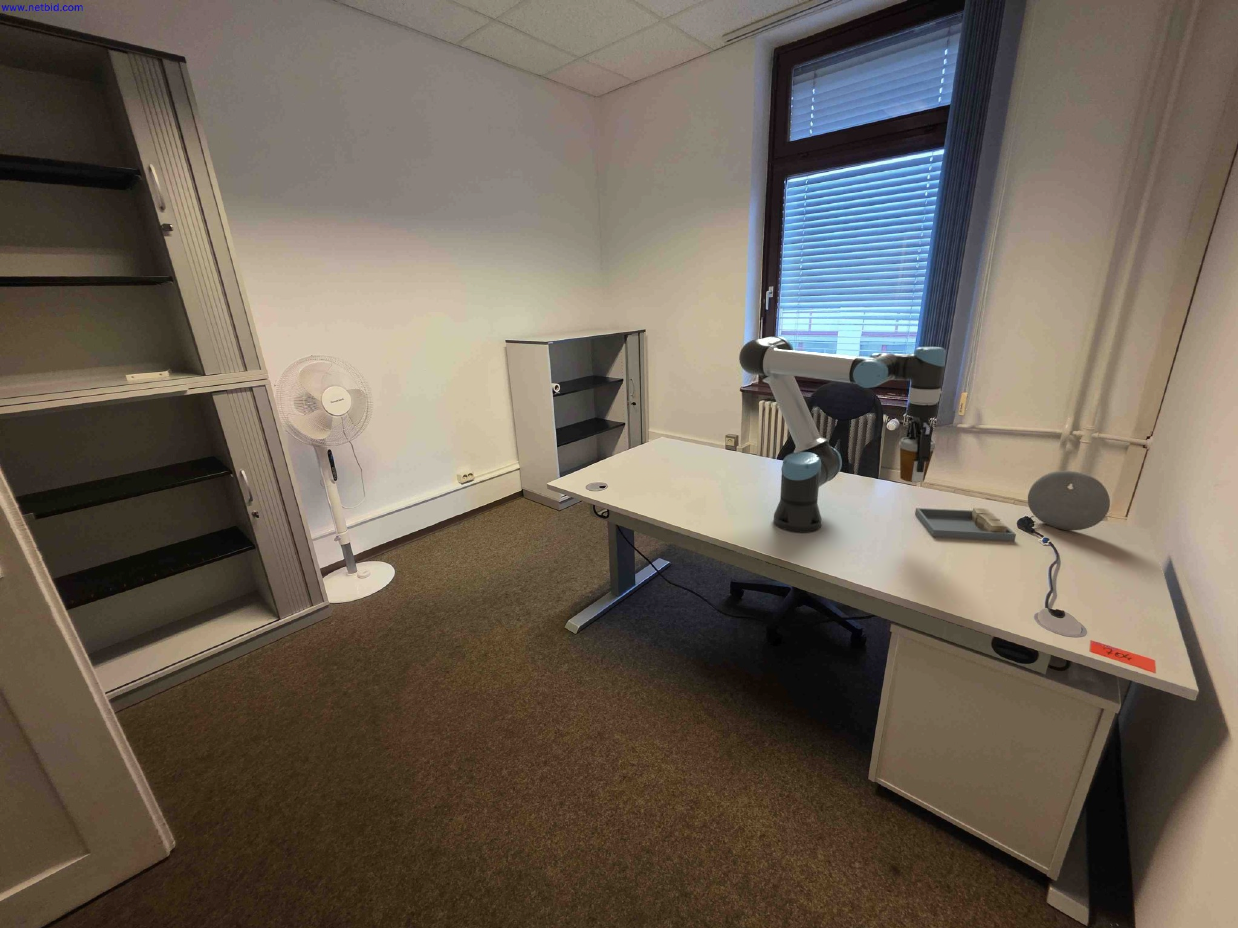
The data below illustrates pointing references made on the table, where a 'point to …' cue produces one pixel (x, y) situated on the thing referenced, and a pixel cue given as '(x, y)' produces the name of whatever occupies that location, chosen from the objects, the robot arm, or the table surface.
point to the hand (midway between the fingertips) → (912, 476)
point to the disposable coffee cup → (911, 458)
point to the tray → (957, 525)
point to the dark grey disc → (1068, 500)
